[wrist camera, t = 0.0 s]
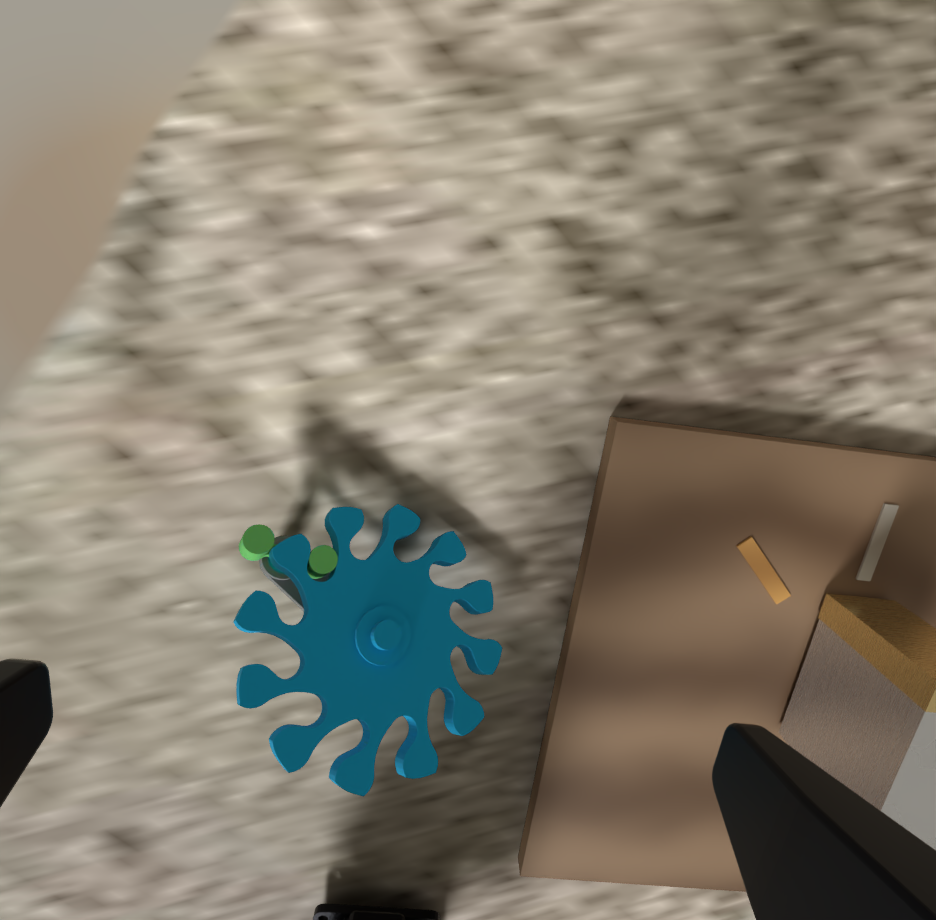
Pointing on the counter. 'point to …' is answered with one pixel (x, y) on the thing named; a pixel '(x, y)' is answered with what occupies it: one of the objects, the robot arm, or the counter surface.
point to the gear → (364, 642)
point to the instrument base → (704, 631)
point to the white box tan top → (871, 707)
